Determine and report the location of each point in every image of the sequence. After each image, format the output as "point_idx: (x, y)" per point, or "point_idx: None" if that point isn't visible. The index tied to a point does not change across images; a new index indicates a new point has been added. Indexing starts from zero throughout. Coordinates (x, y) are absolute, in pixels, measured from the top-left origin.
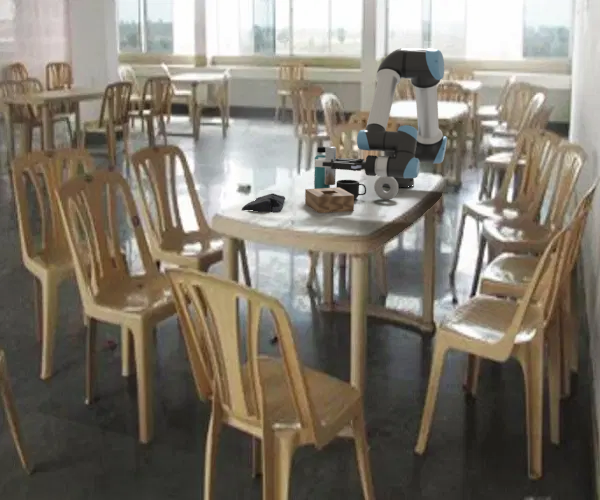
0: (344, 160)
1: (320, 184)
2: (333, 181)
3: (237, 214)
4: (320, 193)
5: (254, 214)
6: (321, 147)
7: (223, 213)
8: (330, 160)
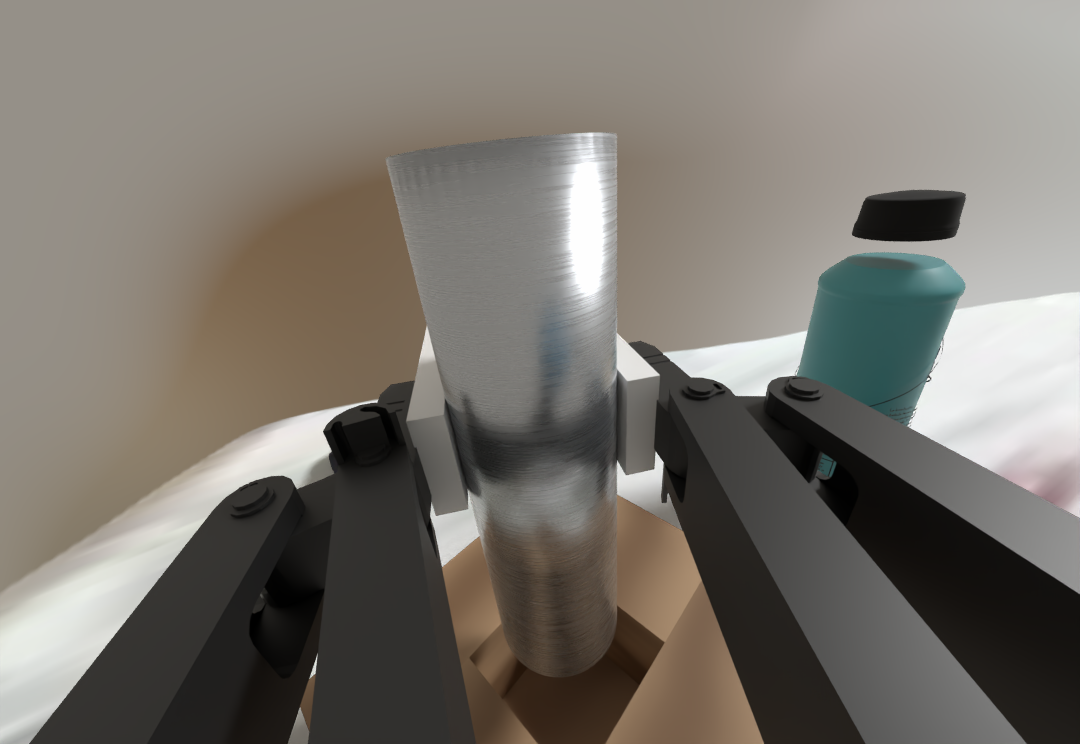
0: (742, 542)
1: None
2: (532, 649)
3: (294, 444)
4: (473, 611)
5: (294, 478)
6: (892, 196)
7: (310, 416)
8: (414, 410)
